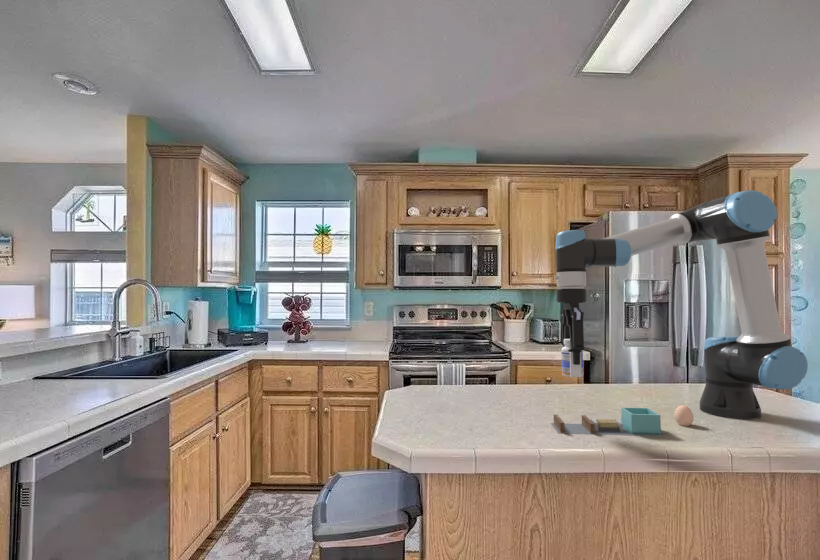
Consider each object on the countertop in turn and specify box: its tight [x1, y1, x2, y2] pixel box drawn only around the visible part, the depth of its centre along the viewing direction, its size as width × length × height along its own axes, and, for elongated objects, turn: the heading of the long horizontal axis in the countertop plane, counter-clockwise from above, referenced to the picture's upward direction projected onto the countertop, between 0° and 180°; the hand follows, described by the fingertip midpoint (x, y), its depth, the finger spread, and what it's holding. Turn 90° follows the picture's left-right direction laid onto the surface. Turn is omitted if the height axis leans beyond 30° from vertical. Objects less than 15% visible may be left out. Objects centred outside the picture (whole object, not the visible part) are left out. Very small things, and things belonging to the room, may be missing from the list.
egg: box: [673, 404, 694, 427], centre depth 118 cm, size 4×4×6 cm
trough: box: [553, 414, 595, 435], centre depth 115 cm, size 8×8×2 cm
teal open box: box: [620, 406, 662, 435], centre depth 113 cm, size 7×7×5 cm
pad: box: [595, 418, 617, 428], centre depth 114 cm, size 4×3×1 cm
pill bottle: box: [560, 339, 584, 378], centre depth 115 cm, size 5×5×10 cm
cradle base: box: [590, 418, 623, 432], centre depth 114 cm, size 7×4×2 cm, turn 84°
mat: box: [550, 422, 666, 438], centre depth 114 cm, size 26×9×1 cm, turn 84°
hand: (572, 374), depth 115 cm, fingers closed on pill bottle, 5 cm apart
